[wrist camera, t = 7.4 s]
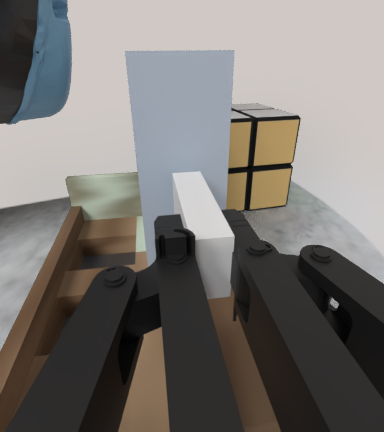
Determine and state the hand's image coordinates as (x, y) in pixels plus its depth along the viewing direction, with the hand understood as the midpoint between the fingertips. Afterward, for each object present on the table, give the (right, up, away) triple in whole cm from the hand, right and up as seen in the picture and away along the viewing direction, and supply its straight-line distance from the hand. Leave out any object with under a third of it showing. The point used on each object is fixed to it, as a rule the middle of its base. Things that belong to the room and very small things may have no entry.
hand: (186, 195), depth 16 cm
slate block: (-1, -3, +6) cm, 7 cm away
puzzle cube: (+5, +1, +20) cm, 21 cm away
